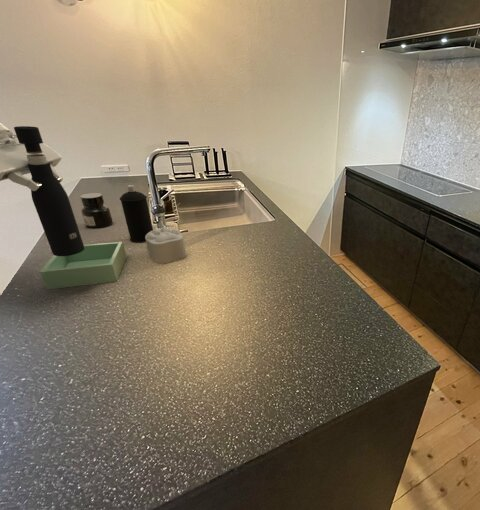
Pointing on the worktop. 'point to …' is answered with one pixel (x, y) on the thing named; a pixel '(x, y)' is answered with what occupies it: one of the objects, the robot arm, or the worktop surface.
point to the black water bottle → (50, 198)
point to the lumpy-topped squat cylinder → (165, 245)
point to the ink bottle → (95, 211)
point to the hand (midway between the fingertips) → (49, 185)
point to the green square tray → (85, 266)
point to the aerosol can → (136, 214)
